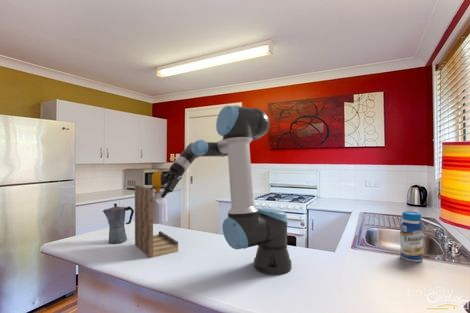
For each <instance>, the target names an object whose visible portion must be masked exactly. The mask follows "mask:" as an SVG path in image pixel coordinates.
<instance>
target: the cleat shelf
mask: <svg viewBox="0 0 470 313" xmlns="http://www.w3.org/2000/svg"><path fill="white" fill-rule="evenodd" d="M134 245H135V246H136V247H137V248H138V249H139V250H140V251H141V252H143V254H145V255H146V256H147V257H148V258H149V259H151V258H155V257H156V258H157V257H160V256H164V255H169V254H173V253H178V252H179V241H178V240H176V239H174V238H172V237H171V236H170V235H168V234H167V233H164V232H163V231H161V230H160V231H158V234H155V235H154V224H153V188H152V189H151V188H148V187H145V186H142V185H137V184H136V185H134Z"/></svg>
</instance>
